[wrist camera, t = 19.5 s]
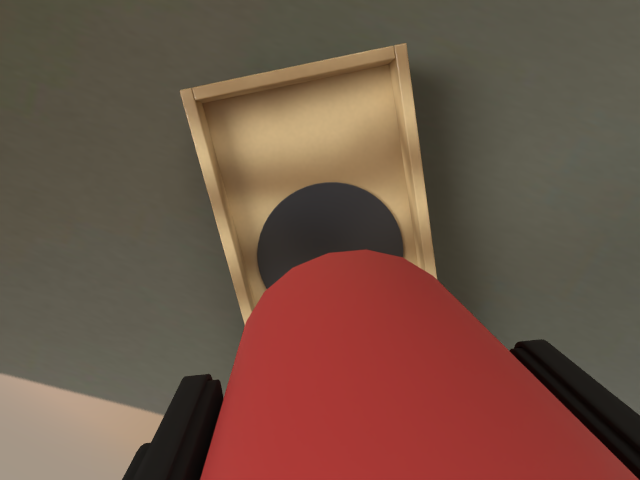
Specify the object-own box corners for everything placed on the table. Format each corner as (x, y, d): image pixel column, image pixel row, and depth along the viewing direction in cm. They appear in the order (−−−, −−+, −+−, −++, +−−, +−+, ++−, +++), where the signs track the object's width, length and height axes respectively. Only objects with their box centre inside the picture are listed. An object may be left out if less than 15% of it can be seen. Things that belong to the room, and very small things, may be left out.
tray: (192, 95, 20) (130, 68, 13) (394, 53, 20) (450, 1, 13) (277, 410, 25) (268, 521, 18) (439, 375, 25) (498, 472, 18)
